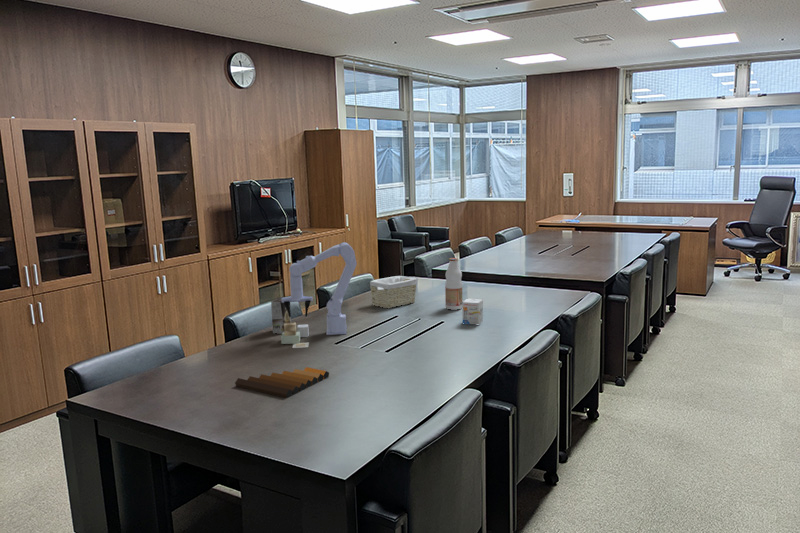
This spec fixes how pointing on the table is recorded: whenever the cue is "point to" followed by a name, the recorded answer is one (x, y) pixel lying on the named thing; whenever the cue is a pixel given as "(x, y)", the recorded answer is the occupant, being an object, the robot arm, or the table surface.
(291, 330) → the maple cube
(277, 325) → the coffee box
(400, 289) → the storage basket
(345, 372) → the table surface
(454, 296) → the fruit juice
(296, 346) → the card
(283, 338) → the base block
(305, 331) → the grey cube
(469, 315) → the ink box
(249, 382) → the pan flute
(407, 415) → the table surface
